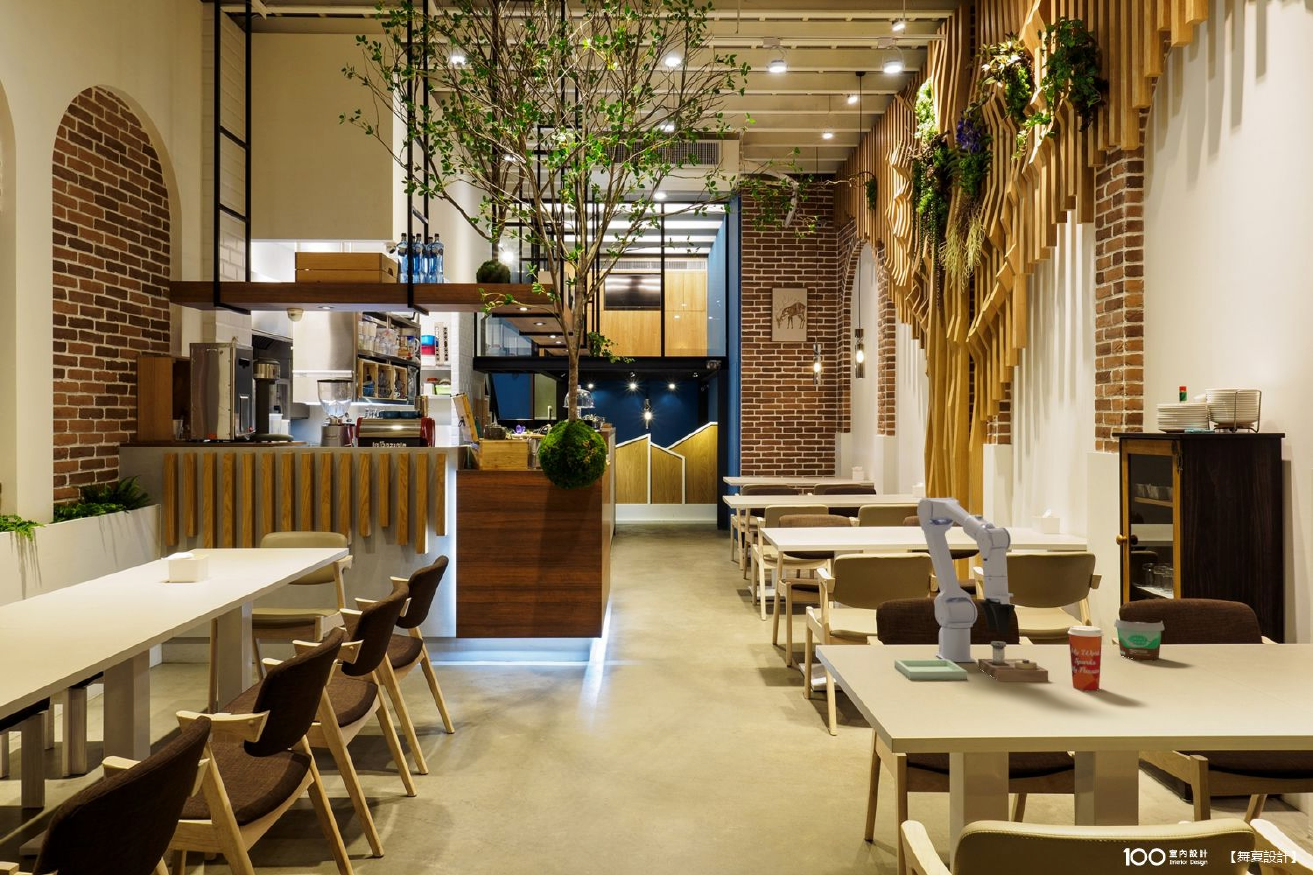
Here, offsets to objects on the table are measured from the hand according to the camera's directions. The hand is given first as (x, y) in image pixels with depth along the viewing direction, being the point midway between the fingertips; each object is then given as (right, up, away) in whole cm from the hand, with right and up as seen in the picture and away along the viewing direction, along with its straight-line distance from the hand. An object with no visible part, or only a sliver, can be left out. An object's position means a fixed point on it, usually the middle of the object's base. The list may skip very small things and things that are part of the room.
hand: (998, 631), depth 241 cm
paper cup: (+15, -11, -15) cm, 24 cm away
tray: (-17, -11, +1) cm, 20 cm away
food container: (+45, -11, +18) cm, 50 cm away
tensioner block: (+3, -11, -1) cm, 11 cm away
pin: (0, -11, 0) cm, 11 cm away
